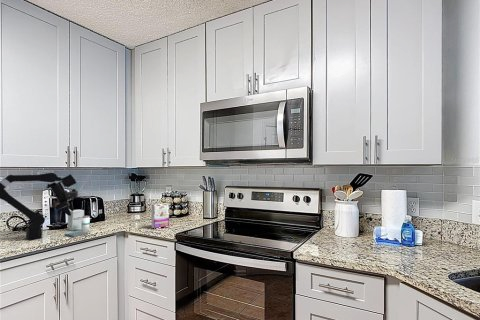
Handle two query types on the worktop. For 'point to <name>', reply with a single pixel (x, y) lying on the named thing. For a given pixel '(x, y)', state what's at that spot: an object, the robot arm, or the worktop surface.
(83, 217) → the cartridge
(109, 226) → the worktop surface
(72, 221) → the supplement box
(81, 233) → the mat
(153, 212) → the candy bar box
